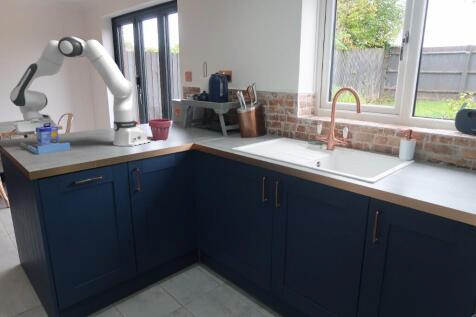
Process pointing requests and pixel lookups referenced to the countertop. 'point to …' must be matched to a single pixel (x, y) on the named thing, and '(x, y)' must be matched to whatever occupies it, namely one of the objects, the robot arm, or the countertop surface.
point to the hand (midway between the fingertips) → (41, 138)
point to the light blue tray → (47, 148)
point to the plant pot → (160, 128)
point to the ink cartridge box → (47, 135)
